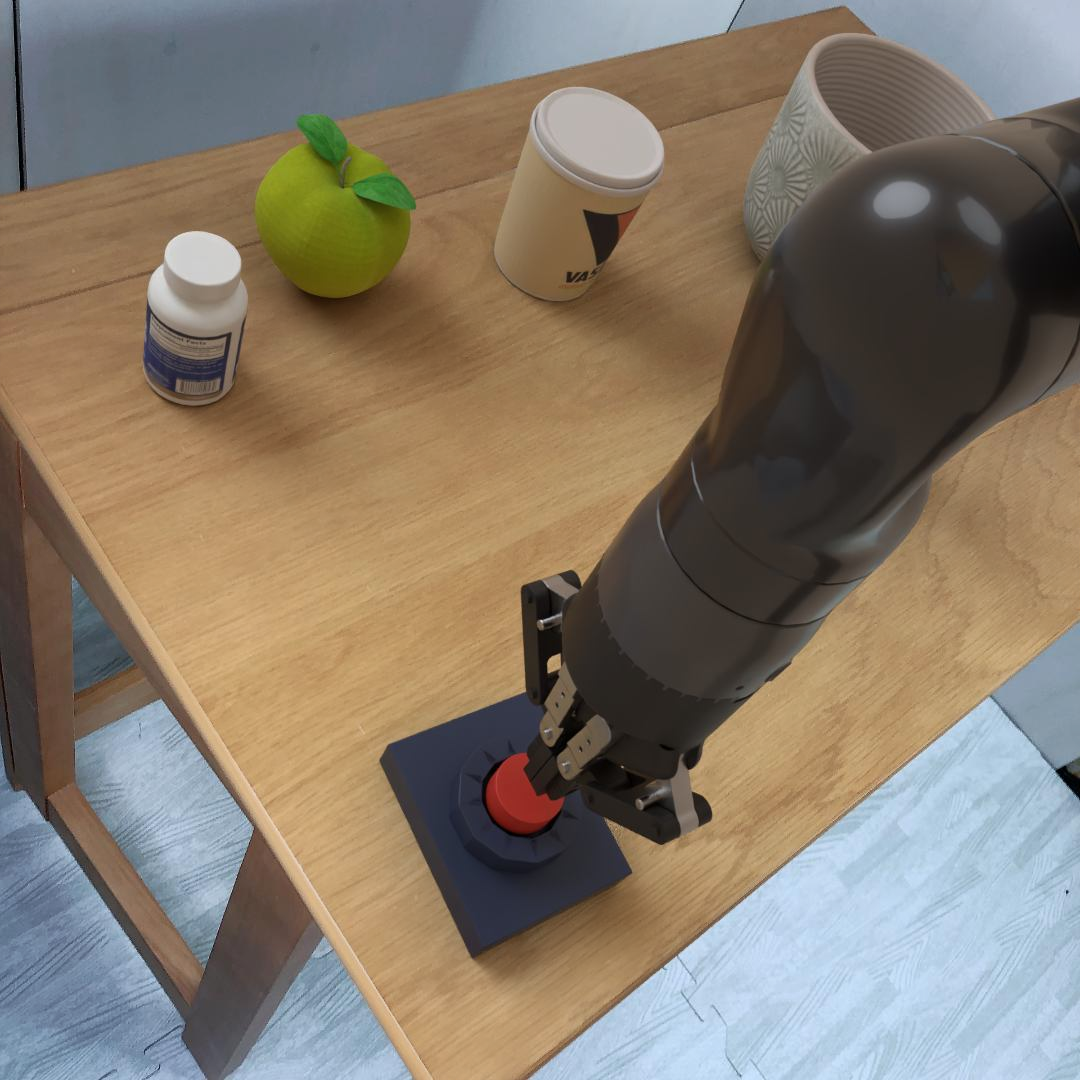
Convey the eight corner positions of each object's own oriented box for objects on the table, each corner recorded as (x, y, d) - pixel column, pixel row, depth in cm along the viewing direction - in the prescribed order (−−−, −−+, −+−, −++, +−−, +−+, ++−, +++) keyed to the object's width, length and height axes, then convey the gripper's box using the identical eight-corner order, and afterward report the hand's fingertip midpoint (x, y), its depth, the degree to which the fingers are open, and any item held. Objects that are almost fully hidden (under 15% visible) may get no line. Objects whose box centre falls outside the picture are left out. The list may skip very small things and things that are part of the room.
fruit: (321, 205, 80) (349, 86, 72) (414, 293, 79) (453, 181, 71) (217, 254, 75) (235, 131, 67) (315, 348, 73) (345, 234, 66)
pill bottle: (178, 324, 71) (190, 205, 63) (252, 370, 71) (274, 257, 63) (122, 376, 68) (128, 257, 60) (200, 424, 68) (216, 311, 60)
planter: (684, 179, 96) (772, 18, 84) (848, 192, 103) (951, 44, 91) (756, 337, 88) (864, 185, 76) (927, 339, 95) (1051, 200, 83)
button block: (617, 884, 61) (647, 861, 58) (471, 958, 56) (495, 938, 53) (522, 704, 65) (545, 673, 62) (378, 760, 60) (395, 730, 57)
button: (565, 818, 58) (578, 806, 57) (505, 846, 56) (516, 834, 55) (532, 755, 59) (544, 742, 58) (473, 780, 58) (483, 767, 56)
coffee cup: (561, 331, 82) (626, 204, 72) (457, 253, 82) (508, 117, 73) (624, 270, 87) (692, 144, 78) (526, 198, 88) (581, 64, 78)
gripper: (526, 478, 42) (418, 683, 56) (714, 801, 37) (545, 939, 51) (685, 435, 46) (547, 638, 59) (874, 725, 41) (677, 872, 55)
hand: (547, 777), depth 55 cm, fingers closed
